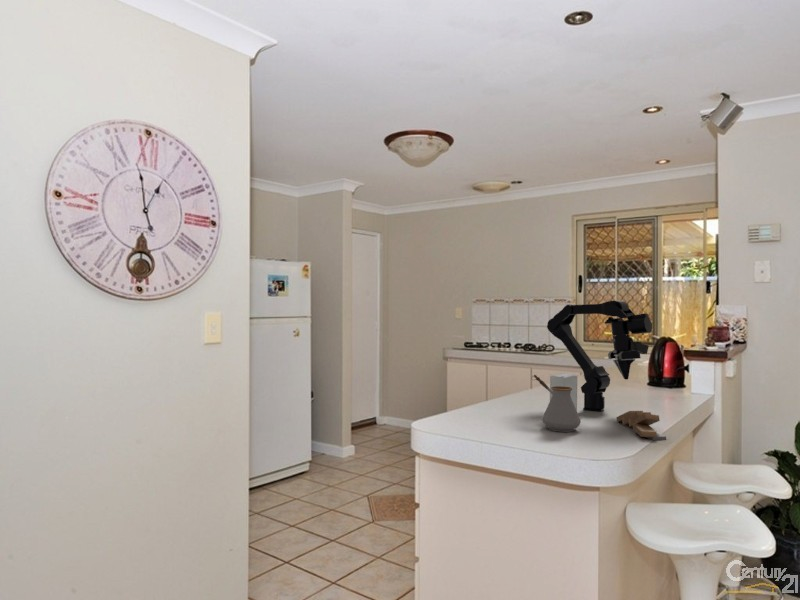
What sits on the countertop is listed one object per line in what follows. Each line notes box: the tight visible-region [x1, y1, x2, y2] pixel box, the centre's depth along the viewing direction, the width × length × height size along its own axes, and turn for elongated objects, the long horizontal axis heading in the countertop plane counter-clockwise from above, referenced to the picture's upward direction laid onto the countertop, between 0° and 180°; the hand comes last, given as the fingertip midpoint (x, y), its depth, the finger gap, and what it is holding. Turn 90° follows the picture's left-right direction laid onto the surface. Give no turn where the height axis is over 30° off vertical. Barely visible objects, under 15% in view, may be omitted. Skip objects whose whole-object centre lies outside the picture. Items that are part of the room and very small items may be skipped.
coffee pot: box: [531, 374, 582, 433], centre depth 172 cm, size 21×12×15 cm, turn 19°
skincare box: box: [549, 372, 579, 411], centre depth 184 cm, size 8×6×15 cm
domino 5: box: [632, 428, 667, 441], centre depth 161 cm, size 2×4×10 cm
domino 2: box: [621, 411, 652, 426], centre depth 170 cm, size 2×4×10 cm
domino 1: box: [616, 410, 644, 423], centre depth 174 cm, size 2×4×10 cm
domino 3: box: [628, 413, 661, 428], centre depth 165 cm, size 2×4×10 cm
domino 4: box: [632, 424, 658, 438], centre depth 160 cm, size 2×4×10 cm
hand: (626, 379), depth 191 cm, fingers closed
